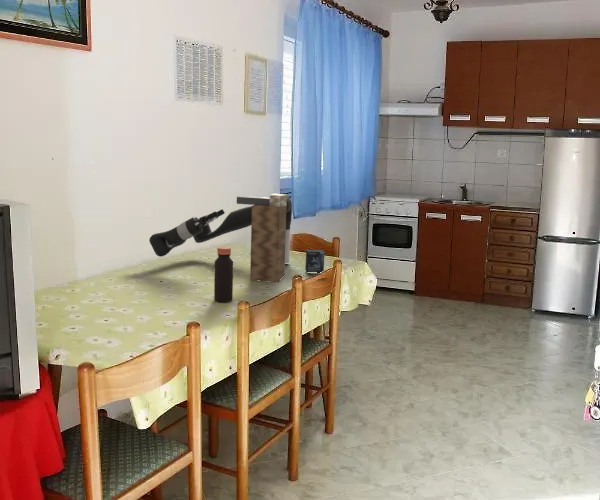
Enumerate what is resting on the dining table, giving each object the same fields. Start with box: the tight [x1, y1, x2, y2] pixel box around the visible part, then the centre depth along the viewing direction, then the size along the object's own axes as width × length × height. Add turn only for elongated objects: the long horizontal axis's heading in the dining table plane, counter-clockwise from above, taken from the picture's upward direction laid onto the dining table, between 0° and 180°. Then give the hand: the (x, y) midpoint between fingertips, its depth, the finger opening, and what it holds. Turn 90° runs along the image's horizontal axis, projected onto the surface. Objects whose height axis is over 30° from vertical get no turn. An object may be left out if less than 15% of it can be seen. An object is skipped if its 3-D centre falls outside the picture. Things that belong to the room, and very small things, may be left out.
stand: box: [249, 193, 288, 283], centre depth 274 cm, size 12×12×37 cm
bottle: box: [213, 246, 234, 303], centre depth 237 cm, size 7×7×20 cm
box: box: [304, 249, 325, 273], centre depth 291 cm, size 8×6×11 cm
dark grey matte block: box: [236, 195, 270, 206], centre depth 272 cm, size 19×4×3 cm, turn 78°
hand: (220, 212), depth 277 cm, fingers open, 8 cm apart
